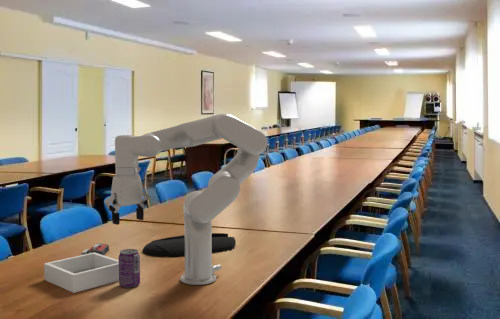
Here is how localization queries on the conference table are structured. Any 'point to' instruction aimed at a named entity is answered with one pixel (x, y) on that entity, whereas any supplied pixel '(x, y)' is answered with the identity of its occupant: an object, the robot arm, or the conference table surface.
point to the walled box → (82, 272)
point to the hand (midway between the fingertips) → (128, 221)
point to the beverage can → (129, 268)
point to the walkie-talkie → (97, 249)
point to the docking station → (177, 245)
